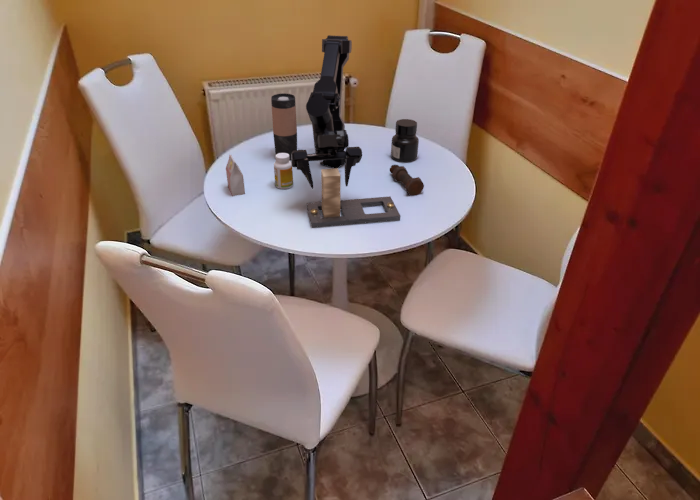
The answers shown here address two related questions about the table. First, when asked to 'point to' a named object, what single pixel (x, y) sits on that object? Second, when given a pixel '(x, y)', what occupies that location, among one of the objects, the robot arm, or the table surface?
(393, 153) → the ink bottle
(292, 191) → the table surface
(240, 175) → the tea bag
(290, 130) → the travel mug
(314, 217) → the strike plate
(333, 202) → the birch peg
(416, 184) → the bolt
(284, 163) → the supplement bottle
